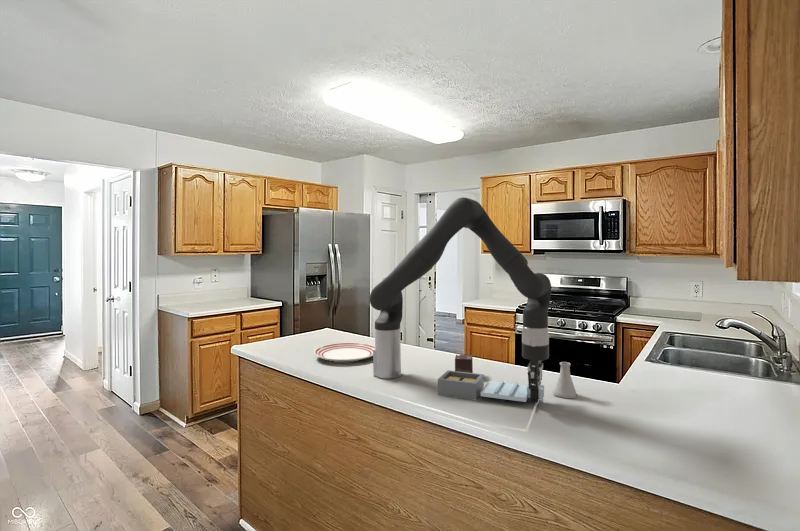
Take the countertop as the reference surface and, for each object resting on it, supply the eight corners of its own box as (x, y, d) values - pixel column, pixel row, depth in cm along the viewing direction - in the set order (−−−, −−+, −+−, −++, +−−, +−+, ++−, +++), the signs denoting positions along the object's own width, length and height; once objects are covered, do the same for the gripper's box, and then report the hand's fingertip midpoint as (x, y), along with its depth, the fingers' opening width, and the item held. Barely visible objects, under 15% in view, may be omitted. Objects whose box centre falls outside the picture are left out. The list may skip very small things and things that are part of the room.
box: (472, 380, 150) (472, 359, 150) (454, 379, 151) (454, 358, 151) (472, 374, 156) (472, 354, 156) (456, 374, 157) (455, 354, 157)
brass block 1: (445, 392, 137) (445, 379, 136) (449, 388, 140) (449, 376, 140) (457, 393, 135) (457, 381, 135) (461, 389, 139) (461, 377, 138)
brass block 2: (461, 394, 134) (461, 381, 134) (464, 390, 138) (464, 377, 138) (473, 395, 133) (473, 383, 133) (477, 391, 136) (477, 379, 136)
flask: (575, 400, 129) (575, 367, 129) (550, 396, 133) (550, 364, 132) (579, 393, 135) (579, 361, 135) (555, 389, 139) (555, 358, 139)
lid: (480, 396, 128) (480, 386, 128) (489, 384, 138) (488, 375, 138) (541, 404, 121) (541, 393, 121) (545, 391, 131) (545, 381, 131)
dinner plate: (392, 355, 185) (392, 348, 185) (343, 370, 165) (343, 361, 165) (349, 346, 203) (349, 339, 203) (300, 358, 183) (300, 350, 183)
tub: (438, 396, 134) (437, 379, 134) (448, 386, 144) (447, 370, 143) (475, 401, 130) (475, 383, 129) (483, 391, 139) (483, 374, 138)
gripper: (525, 335, 134) (525, 390, 135) (518, 346, 121) (518, 406, 122) (551, 337, 131) (551, 393, 132) (546, 348, 118) (546, 410, 119)
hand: (535, 399), depth 127 cm, fingers closed on lid, 3 cm apart
